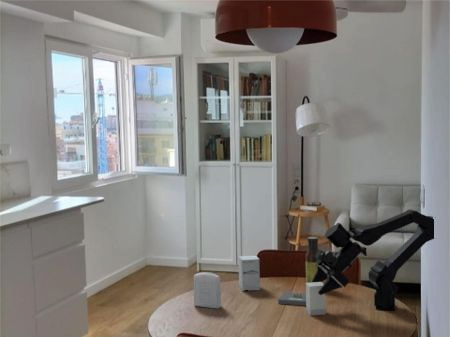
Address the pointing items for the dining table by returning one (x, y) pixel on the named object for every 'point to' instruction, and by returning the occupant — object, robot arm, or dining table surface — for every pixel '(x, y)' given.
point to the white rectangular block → (315, 299)
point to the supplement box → (249, 273)
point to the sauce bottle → (311, 258)
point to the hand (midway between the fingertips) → (315, 290)
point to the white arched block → (207, 290)
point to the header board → (293, 298)
